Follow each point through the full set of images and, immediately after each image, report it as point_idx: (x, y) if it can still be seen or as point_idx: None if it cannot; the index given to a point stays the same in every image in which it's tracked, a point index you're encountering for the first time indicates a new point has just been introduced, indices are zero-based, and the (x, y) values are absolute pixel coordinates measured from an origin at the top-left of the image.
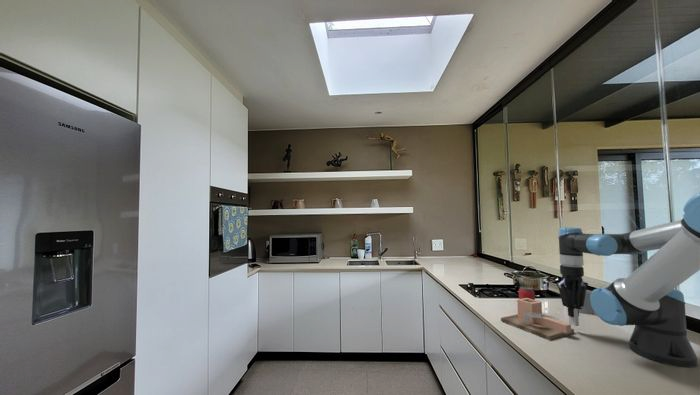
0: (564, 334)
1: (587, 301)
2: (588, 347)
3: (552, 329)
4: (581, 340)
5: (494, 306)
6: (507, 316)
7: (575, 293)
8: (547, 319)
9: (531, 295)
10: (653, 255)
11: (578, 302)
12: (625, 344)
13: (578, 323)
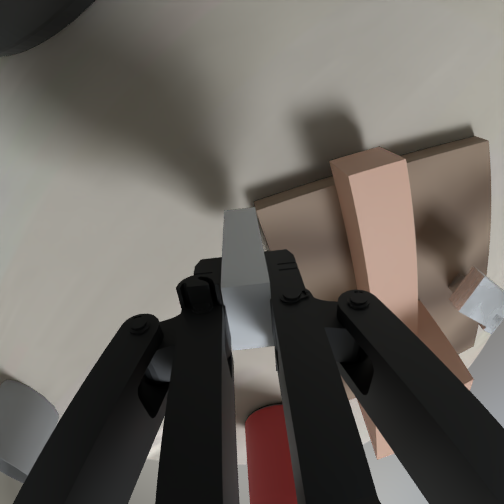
0: None
1: (3, 423)
2: (355, 13)
3: None
4: (310, 94)
5: None
6: None
7: (230, 493)
8: (417, 276)
9: (293, 488)
10: None
11: (201, 353)
12: (74, 43)
13: (226, 217)
